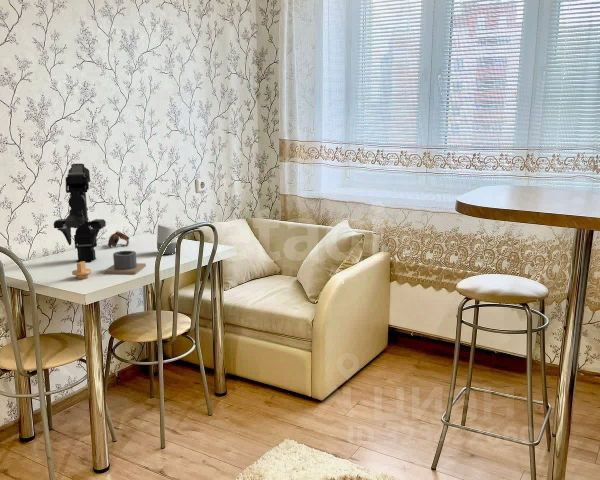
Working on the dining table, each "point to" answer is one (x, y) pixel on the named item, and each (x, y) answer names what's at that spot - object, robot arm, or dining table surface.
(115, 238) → the brown curved piece
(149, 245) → the dining table surface
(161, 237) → the smart speaker
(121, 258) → the tube on square plate
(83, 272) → the orange cap
